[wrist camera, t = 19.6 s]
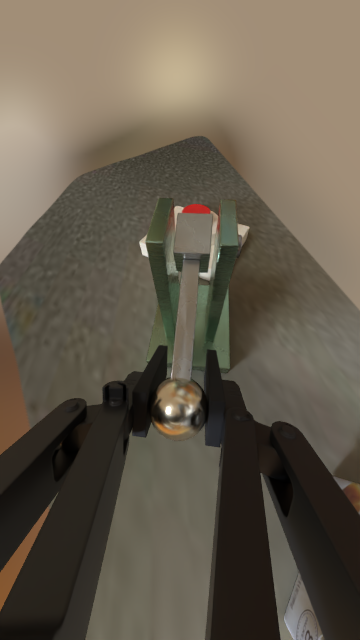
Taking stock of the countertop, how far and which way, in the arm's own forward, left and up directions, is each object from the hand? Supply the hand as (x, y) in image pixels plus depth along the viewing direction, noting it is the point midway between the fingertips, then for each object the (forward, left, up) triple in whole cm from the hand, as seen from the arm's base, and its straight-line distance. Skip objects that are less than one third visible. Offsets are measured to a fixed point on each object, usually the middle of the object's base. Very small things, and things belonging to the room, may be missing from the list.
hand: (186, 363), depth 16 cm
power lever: (+1, -1, +4) cm, 4 cm away
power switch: (+2, -5, -4) cm, 7 cm away
